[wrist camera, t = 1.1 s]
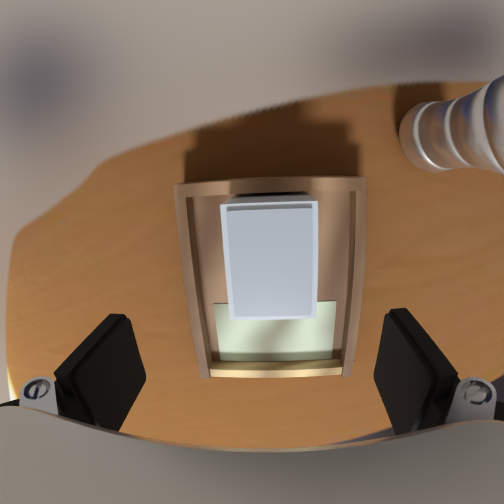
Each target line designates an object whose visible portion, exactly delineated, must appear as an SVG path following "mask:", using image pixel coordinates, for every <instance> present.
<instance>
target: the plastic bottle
mask: <svg viewBox="0 0 504 504" xmlns="http://www.w3.org/2000/svg"><path fill="white" fill-rule="evenodd" d="M399 140H400V144H401V148H402V150H403V152H404V154H405V155H406V157H407V158H408V159H409V161H410V162H411V163H413V164H414V165H415V166H417V167H419V168H421V169H424V170H426V171H429V172H443V171H448V170H452V169H454V168H464V167H473V168H479V169H485V170H491V171H494V172H497V173H500V174H503V175H504V75H503V76H501V77H498V78H496V79H495V80H493V81H491V82H489V83H488V84H486V85H484V86H483V87H481V88H479V89H478V90H476V91H474V92H472V93H470V94H467V95H465V96H462V97H460V98H457V99H453V100H447V101H441V102H439V101H432V102H423V103H420V104H417V105H415V106H414V107H413V108H411V109H410V110H409V111H408V112H407V113H406V114H405V115H404V117H403V119H402V121H401V123H400V127H399Z"/></svg>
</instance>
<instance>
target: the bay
mask: <svg viewBox="0 0 504 504" xmlns="http://www.w3.org/2000/svg"><path fill="white" fill-rule="evenodd" d="M173 186H174V198H175V209H176V219H177V229H178V238H179V246H180V254H181V262H182V270H183V277H184V284H185V291H186V298H187V304H188V311H189V317H190V323H191V329H192V335H193V340H194V346H195V351H196V357H197V362H198V367H199V372H200V377H201V379H210V377H211V376H217V377H252V378H273V377H307V376H324V375H338V374H341V375H342V377H349V376H351V374H352V369H353V363H354V356H355V350H356V343H357V336H358V329H359V321H360V312H361V303H362V293H363V282H364V269H365V254H366V232H367V177H362V176H279V177H255V178H237V179H222V180H208V181H196V182H185V183H179V184H174V185H173ZM298 191H306V192H307V193H309V194H310V195H311V196H312V197H314V198H315V199H316V200H317V201H318V286H317V313H316V318H312V319H283V320H230V315H229V305H228V295H227V284H226V273H225V261H224V250H223V237H222V225H221V211H220V204H222V203H223V202H225V201H226V200H228V199H229V198H231V197H232V196H234V195H235V194H244V193H267V192H298Z"/></svg>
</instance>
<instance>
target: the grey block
mask: <svg viewBox="0 0 504 504" xmlns="http://www.w3.org/2000/svg"><path fill="white" fill-rule="evenodd" d="M220 211H221V225H222V237H223V250H224V261H225V273H226V284H227V295H228V305H229V315H230V320H283V319H312V318H316V313H317V286H318V201H317V200H316V199H315V198H314V197H312V196H311V195H310V194H309V193H307V192H306V191H298V192H267V193H244V194H235V195H234V196H232V197H231V198H229V199H228V200H226V201H225V202H223V203H222V204H220Z"/></svg>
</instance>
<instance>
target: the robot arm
mask: <svg viewBox="0 0 504 504" xmlns="http://www.w3.org/2000/svg"><path fill="white" fill-rule="evenodd" d="M54 375H55V377H56V379H57V380H56V381H55V382H54V381H53V380H52V379H51V378H49V377H44V376H40V377H35V378H33V379H30V380H29V381H27V382H26V383H25V384H24V385H23V386H22V388H21V390H20V399H17V400H13V401H9V402H6V403H2V404H0V504H504V403H502V402H499V401H496V390H495V388H494V387H493V386H492V385H491V383H489V382H488V381H486V380H484V379H482V378H478V377H468V378H465V379H463V380H462V381H460V379H459V378H458V376H457V375H458V373H457V371H456V370H455V369H454V367H453V366H452V365H451V363H450V362H449V361H448V359H447V358H446V357H445V355H444V354H443V353H442V352H441V350H440V349H439V348H438V346H437V345H436V344H435V343H434V341H433V340H432V339H431V338H430V336H429V335H428V334H427V333H426V331H425V330H424V329H423V328H422V327H421V325H420V324H419V323H418V322H417V320H416V319H415V318H414V317H413V316H412V314H411V313H410V312H409V311H408V310H407V309H406V308H398V309H391V310H390V311H389V313H388V314H385V317H384V323H383V329H382V334H381V340H380V345H379V350H378V355H377V360H376V365H375V370H374V381H375V383H376V386H377V388H378V391H379V393H380V396H381V398H382V401H383V403H384V406H385V408H386V411H387V413H388V416H389V419H390V421H391V424H392V427H393V429H394V432H395V435H396V436H391V437H385V438H380V439H373V440H368V441H361V442H354V443H347V444H338V445H328V446H317V447H302V448H270V449H260V448H229V447H214V446H203V445H193V444H185V443H177V442H170V441H164V440H157V439H152V438H146V437H141V436H136V435H131V434H126V433H122V432H119V430H120V428H121V426H122V424H123V422H124V420H125V418H126V416H127V415H128V413H129V411H130V409H131V407H132V405H133V403H134V402H135V400H136V398H137V396H138V394H139V392H140V391H141V389H142V387H143V385H144V383H145V381H146V373H145V370H144V367H143V363H142V360H141V357H140V353H139V350H138V346H137V343H136V339H135V335H134V332H133V328H132V324H131V321H130V319H129V318H127V317H126V315H124V314H109V315H108V316H107V317H106V318H105V319H104V320H103V321H102V322H101V323H100V324H99V325H98V326H97V327H96V328H95V330H94V331H93V332H92V333H91V334H90V335H89V336H88V337H87V338H86V339H85V340H84V341H83V342H82V343H81V344H80V345H79V346H78V347H77V348H76V349H75V350H74V351H73V352H72V353H71V354H70V356H69V357H68V358H67V359H66V360H65V361H64V362H63V363H62V364H61V365H60V366H59V367H58V368H57V370H56V371H55V372H54Z"/></svg>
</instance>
